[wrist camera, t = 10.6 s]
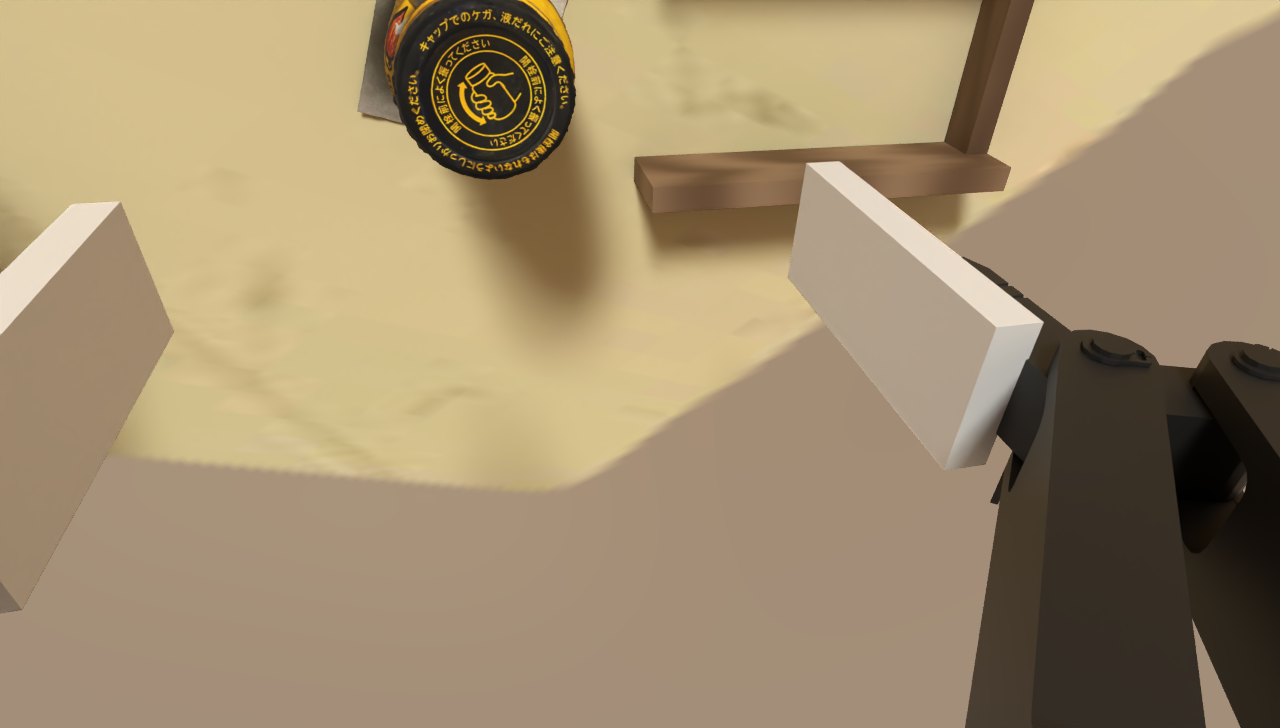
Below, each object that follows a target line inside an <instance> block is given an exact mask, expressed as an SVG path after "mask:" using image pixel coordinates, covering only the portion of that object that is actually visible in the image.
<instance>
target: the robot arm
mask: <svg viewBox="0 0 1280 728" xmlns="http://www.w3.org/2000/svg"><path fill="white" fill-rule="evenodd" d="M788 279H789V280H790V281H791V282H792V283H793V285H794V286H795V287H796V288H797V290H798V291H799V292H800V293H801V295H802V296H803V297H804V298H805V300H806V301H807V302H808V303H809V305H810V306H811V307H812V308H813V309H814V311H815V312H816V313H817V314H818V316H819V317H820V318H821V319H822V321H823V322H824V323H825V324H826V326H827V327H828V328H829V329H830V331H831V332H832V333H833V334H834V335H835V337H836V338H837V339H838V340H839V342H840V343H841V344H842V345H843V347H844V348H845V349H846V350H847V352H848V353H849V354H850V355H851V357H852V358H853V359H854V360H855V361H856V363H857V364H858V365H859V366H860V368H861V369H862V370H863V371H864V373H865V374H866V375H867V376H868V377H869V379H870V380H871V381H872V383H873V384H874V385H875V386H876V387H877V389H878V390H879V391H880V392H881V393H882V395H883V396H884V397H885V399H886V400H887V401H888V402H889V403H890V405H891V406H892V407H893V408H894V410H895V411H896V412H897V413H898V415H899V416H900V417H901V418H902V419H903V421H904V422H905V423H906V425H907V426H908V427H909V428H910V429H911V431H912V432H913V433H914V434H915V436H916V437H917V438H918V439H919V441H920V442H921V443H922V444H923V446H924V447H925V448H926V449H927V451H928V452H929V453H930V454H931V455H932V457H933V458H934V459H935V461H936V462H937V463H938V464H939V465H940V466H941V468H942V469H943V470H944V471H945V470H952V469H958V468H965V467H971V466H978V465H984V464H986V461H987V459H988V457H989V454H990V451H991V449H992V447H993V444H994V442H995V439H996V437H997V435H998V436H999V437H1000V438H1001V439H1002V440H1003V441H1004V442H1005V443H1006V444H1007V445H1008V446H1009V447H1010V448H1011V450H1012V453H1011V455H1010V458H1009V460H1008V463H1007V465H1006V467H1005V470H1004V472H1003V474H1002V476H1001V479H1000V481H999V483H998V485H997V488H996V490H995V492H994V495H993V497H992V499H991V503H994V504H998V503H999V501H1000V503H999V509H998V516H997V522H996V529H995V536H994V542H993V549H992V555H991V562H990V569H989V575H988V581H987V588H986V594H985V601H984V607H983V614H982V621H981V627H980V633H979V641H978V647H977V653H976V660H975V667H974V673H973V680H972V686H971V692H970V699H969V706H968V712H967V718H966V725H965V728H1206V725H1205V717H1204V710H1203V702H1202V694H1201V686H1200V678H1199V670H1198V662H1197V655H1196V646H1195V639H1194V631H1193V623H1192V619H1193V621H1194V623H1195V626H1196V628H1197V630H1198V632H1199V635H1200V637H1201V639H1202V641H1203V644H1204V646H1205V648H1206V650H1207V652H1208V655H1209V657H1210V659H1211V662H1212V664H1213V666H1214V669H1215V671H1216V673H1217V675H1218V678H1219V680H1220V682H1221V684H1222V687H1223V689H1224V691H1225V693H1226V695H1227V698H1228V700H1229V702H1230V705H1231V707H1232V709H1233V711H1234V713H1235V716H1236V718H1237V720H1238V723H1239V725H1240V727H1241V728H1280V351H1277V350H1275V349H1273V348H1272V349H1271V350H1270V349H1269V347H1266V346H1263V345H1260V344H1255V345H1253V344H1248V343H1244V342H1231V341H1223V342H1219V343H1214V344H1212V345H1211V346H1210V347H1209V348H1208V350H1207V351H1206V353H1205V355H1204V356H1203V358H1202V360H1201V361H1200V363H1199V365H1198V367H1197V368H1185V367H1174V366H1163V365H1159V363H1158V362H1157V360H1156V358H1155V356H1154V355H1152V354H1151V353H1149V352H1148V351H1147V350H1146V349H1145V348H1144V347H1142V346H1140V345H1138V344H1136V343H1134V342H1133V341H1131V340H1129V339H1126V338H1124V337H1120V336H1117V335H1114V334H1111V333H1107V332H1101V331H1095V330H1074V331H1072V332H1071V331H1070V330H1069V329H1067V328H1066V327H1065V326H1063V325H1062V324H1061V323H1060V322H1058V321H1057V320H1056V319H1054V318H1053V317H1052V316H1050V315H1049V314H1048V313H1047V312H1045V311H1044V310H1043V309H1041V308H1040V307H1039V306H1037V305H1036V304H1035V303H1033V302H1032V301H1031V300H1030V299H1028V298H1023V294H1022V293H1021V292H1019V291H1018V290H1017V289H1015V288H1014V287H1012V286H1008V283H1007V282H1006V281H1005V280H1004V279H1002V278H1001V277H1000V276H998V275H997V274H996V273H994V272H993V271H992V270H990V269H989V268H987V267H985V266H982V265H980V264H978V263H976V262H973V261H971V260H969V259H967V258H965V257H960V256H959V255H958V254H957V253H955V252H954V251H953V250H951V249H950V248H949V247H948V246H946V245H945V244H944V243H943V242H941V241H940V240H939V239H937V238H936V237H935V236H934V235H932V234H931V233H930V232H929V231H927V230H926V229H925V228H924V227H922V226H921V225H920V224H918V223H917V222H916V221H915V220H913V219H912V218H911V217H910V216H908V215H907V214H906V213H904V212H903V211H902V210H901V209H899V208H898V207H897V206H896V205H894V204H893V203H892V202H891V201H889V200H888V199H887V198H885V197H884V196H883V195H882V194H880V193H879V192H878V191H877V190H875V189H874V188H873V187H871V186H870V185H869V184H868V183H866V182H865V181H864V180H863V179H861V178H860V177H859V176H857V175H856V174H855V173H854V172H852V171H851V170H850V169H849V168H847V167H846V166H845V165H844V164H842V163H841V162H840V161H835V162H817V163H806V168H805V174H804V181H803V187H802V193H801V199H800V205H799V211H798V217H797V223H796V229H795V236H794V242H793V248H792V254H791V260H790V266H789V272H788ZM173 333H174V331H173V328H172V326H171V323H170V321H169V318H168V316H167V314H166V311H165V309H164V306H163V304H162V301H161V299H160V296H159V294H158V292H157V289H156V287H155V284H154V282H153V279H152V277H151V275H150V272H149V270H148V267H147V265H146V262H145V260H144V258H143V255H142V253H141V250H140V248H139V245H138V243H137V241H136V238H135V236H134V233H133V231H132V228H131V226H130V224H129V221H128V219H127V216H126V214H125V211H124V209H123V206H122V204H121V202H120V201H119V202H101V203H83V204H71V205H70V206H69V207H68V208H67V209H66V210H65V211H64V212H63V213H62V214H61V215H60V216H59V217H58V218H57V219H56V220H55V221H54V222H53V223H52V224H51V225H50V226H49V227H48V228H47V229H46V230H45V231H44V232H43V233H42V234H41V235H40V236H39V237H38V238H37V239H36V240H34V241H33V242H32V243H31V244H30V245H29V246H28V247H27V248H26V249H25V250H24V251H23V252H22V253H21V254H20V255H19V256H18V257H17V258H16V259H15V260H14V261H13V262H12V263H11V264H10V265H9V266H8V267H7V268H6V269H5V270H4V271H3V272H2V273H1V274H0V613H5V612H12V611H18V610H22V609H23V607H24V605H25V603H26V601H27V600H28V598H29V596H30V594H31V593H32V591H33V589H34V587H35V585H36V583H37V582H38V580H39V578H40V576H41V574H42V572H43V571H44V569H45V567H46V565H47V563H48V562H49V560H50V558H51V556H52V554H53V552H54V550H55V549H56V547H57V545H58V543H59V541H60V540H61V537H62V536H63V534H64V532H65V530H66V529H67V527H68V525H69V523H70V521H71V519H72V518H73V516H74V514H75V512H76V510H77V508H78V507H79V505H80V503H81V501H82V499H83V497H84V496H85V494H86V492H87V490H88V488H89V486H90V485H91V483H92V481H93V479H94V477H95V475H96V474H97V472H98V470H99V468H100V466H101V464H102V463H103V461H104V459H105V457H106V455H107V454H108V452H109V450H110V448H111V446H112V444H113V443H114V441H115V439H116V437H117V435H118V433H119V432H120V430H121V428H122V426H123V424H124V422H125V421H126V419H127V417H128V415H129V413H130V411H131V410H132V408H133V406H134V404H135V402H136V400H137V399H138V397H139V395H140V393H141V391H142V389H143V388H144V386H145V384H146V382H147V380H148V378H149V377H150V375H151V373H152V371H153V369H154V367H155V366H156V364H157V362H158V360H159V358H160V356H161V355H162V353H163V351H164V349H165V347H166V346H167V344H168V342H169V340H170V338H171V336H172V335H173ZM1245 486H1246V489H1245V492H1243V489H1244V487H1245Z"/></svg>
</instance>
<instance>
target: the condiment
mask: <svg viewBox="0 0 1280 728" xmlns="http://www.w3.org/2000/svg"><path fill="white" fill-rule="evenodd" d="M566 3H567V0H376V5H375V10H374V17H373V23H372V28H371V36H370V41H369V47H368V52H367V59H366V64H365V71H364V76H363V83H362V88H361V94H360V100H359V106H358V112H361V113H365V114H369V115H372V116H377V117H382V118H385V119H389V120H392V121H396V122H400V123H403V124H405V126H406V128H407V131H408V133H409V135H410V136H411V137H412V138H413V139H414V140H415V141H416V142H417V144H418V147H419V148H420V149H421V150H423V152H425V153H428V154H429V155H430V156H431V158H432V159H433V160H435V161H436V162H438V163H439V164H440V165H442V166H443V167H445V168H448V169H450V170H452V171H454V172H457V173H459V174H462V175H466V176H470V177H473V178H479V179H487V180H492V179H507V178H510V177H513V176H515V175H519V174H522V173H524V172H529V171H531V170H534V169H535V168H537V166H538V165H539V164H540V163H541V162H542V161H543V160H545V159H546V158H548V156H549V155H550V154H551V153H552V152H553V151H554V150H555V149H556V148H557V147H558V146H559V145H560V143H561V141H562V140H563V138H564V136H565V134H566V132H567V131H568V126H569V124H570V121H571V118H572V114H573V113H574V107H575V96H576V93H575V92H576V89H575V86H574V80H575V67H574V58H573V50H572V44H571V41H570V38H569V35H568V33H567V31H566V27H565V24H564V22H563V19H562V16H563V13H564V9H565V6H566Z"/></svg>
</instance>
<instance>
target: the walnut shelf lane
mask: <svg viewBox="0 0 1280 728" xmlns="http://www.w3.org/2000/svg"><path fill="white" fill-rule="evenodd" d="M1033 3H1034V0H983V2H982V6H981V9H980V13H979V17H978V21H977V24H976V28H975V32H974V35H973V39H972V43H971V46H970V50H969V54H968V57H967V61H966V65H965V68H964V72H963V76H962V79H961V83H960V87H959V91H958V94H957V98H956V102H955V105H954V109H953V113H952V116H951V120H950V124H949V127H948V131H947V135H946V138H945V142H934V143H914V144H893V145H873V146H852V147H832V148H811V149H791V150H770V151H750V152H729V153H709V154H688V155H668V156H647V157H635V165H634V182H635V183H636V185H637V187H638V189H639V190H640V192H641V194H642V196H643V198H644V199H645V201H646V203H647V205H648V206H649V208H650V210H651V212H652V213H666V212H681V211H697V210H713V209H728V208H744V207H759V206H775V205H791V204H800V199H801V193H802V187H803V181H804V174H805V168H806V163H817V162H835V161H840V162H841V163H842V164H844V165H845V166H846V167H847V168H849V169H850V170H851V171H852V172H854V173H855V174H856V175H857V176H859V177H860V178H861V179H863V180H864V181H865V182H866V183H868V184H869V185H870V186H871V187H873V188H874V189H875V190H877V191H878V192H879V193H880V194H882V195H883V196H884V197H885V198H900V197H915V196H931V195H946V194H962V193H978V192H993V191H1004V188H1005V185H1006V182H1007V179H1008V176H1009V173H1010V170H1011V167H1010V166H1008V165H1006V164H1004V163H1003V162H1001V161H999V160H997V159H996V158H994V157H992V156H990V155H989V154H987V152H988V149H989V146H990V142H991V139H992V136H993V133H994V129H995V126H996V123H997V120H998V116H999V113H1000V110H1001V107H1002V103H1003V100H1004V97H1005V94H1006V90H1007V87H1008V84H1009V81H1010V78H1011V74H1012V71H1013V68H1014V65H1015V61H1016V58H1017V55H1018V52H1019V48H1020V45H1021V42H1022V39H1023V35H1024V32H1025V29H1026V26H1027V22H1028V19H1029V16H1030V13H1031V9H1032V6H1033Z"/></svg>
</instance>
